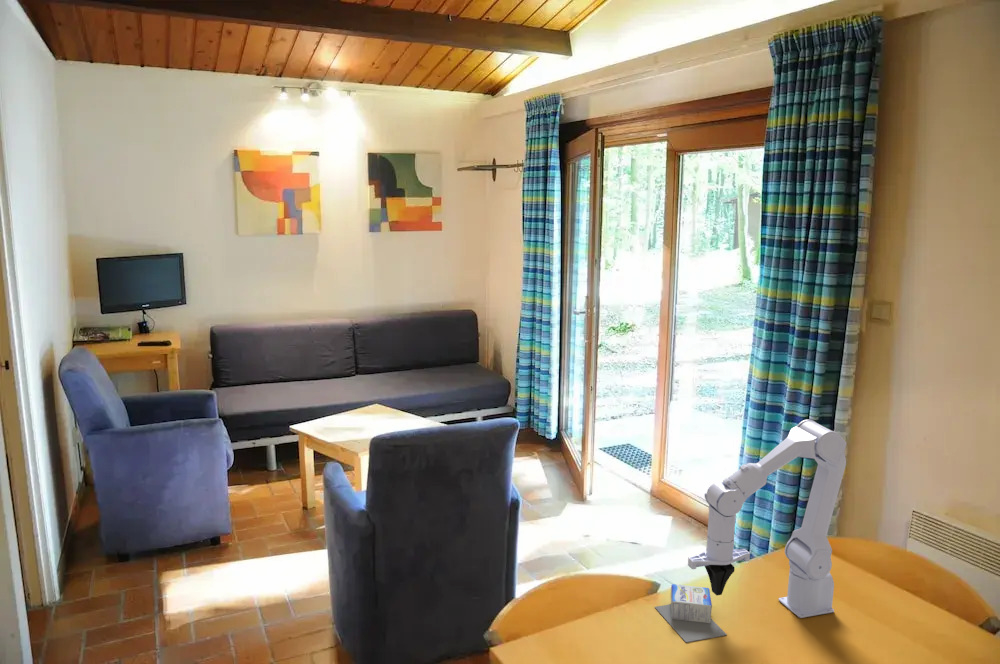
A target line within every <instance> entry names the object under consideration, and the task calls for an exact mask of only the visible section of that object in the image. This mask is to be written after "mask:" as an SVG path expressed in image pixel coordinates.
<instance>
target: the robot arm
mask: <svg viewBox="0 0 1000 664" xmlns="http://www.w3.org/2000/svg"><path fill="white" fill-rule="evenodd" d="M847 444H848V443H847V441H845V439H844V438H843V437H842V435H840V433H838V432H836V431H833V430H831V429H829V428H827V427H825V426H823V425H822V424H819V423H817V422H816V421H815V420H813V419H804V420H801V421H800V422H799V423H798V424H797V425H796V426H794V427H791V429H790V431H789V432H788V435H787V437H786V438H785V439H784V440H782V441H781V442H779V444H778V445H776V446H775V447H774V448H773V449H772V450H771V451H769V452H768V453H767V454H766V455H765V456H763V458H761V459H760V460H758V462H756V463H754V462H747V463H746V464H745V463H743V464H742V465H741V466H740V467H739V468H740V469H738V470H737V471H735V472H734V473H733V474H732V475H730V476H729V477H727V478H725V479H724V480H722V482H721V481H720V482H715V483H713V484H711V485H709V487H708V489H707V490H706V493H704V500H705V501H706V503H707V504H708V518H707V520H708V521H707V532H706V533H707V537H706V550H705V551H703V552H701V553H698V554H695V555H693V556H689V557H688V559H687V566H688V567H689V568H690V569H691V570H696V569H697V568H701V567H704V568H705V570H706V572H707V573H706V574H707V576H708V579H709V582H710V589H711V592H712V593H713V594H714V595H715V596H722V595H723V592H724V590H725V587H726V585H727V583H728V581H729V579H730V578H731V576H732V575H733V573H734V572H735V566H734V565H733V564H734V563H735V562H739V561H745V562H750V561H751V559H750V558H751V557H750V556H751V552H749V551H748V550H747V549H744V548H741V549H735V548H734V545H735V544H734V543H735V530H736V518H737V517H736V516H737V515H736V514H738V513H740V511H741V509H742V507H743V504H744V503H745V502H746V501H747V499H748V498H749V497H751V496H752V495H753V494H754V493H756V492H757V491H758V490H761V488H763V487H764V486H766V484H767V480H768V476H770V475H771V474H772V473H775V472H777V470H779V469H781V468H782V467H784V466H785V465H787V464H788V463H790V462H792V461H793V460H795V459H797V458H805V459H814V461H815V462H816V463H817V467H816V471H815V474H814V477H813V481H812V485H811V490H810V493H809V497H808V501H807V504H806V509H805V512H804V516H803V520H802V523H801V527H800V528H797V529H794V530H793V531H792V533H791V536H790V538H789V539H788V541H787V543H785V547H784V554H785V556H786V558H787V559H788V560H789V561H788V565H789V574H788V584H787V595H786V596H784V597H783V596H782V597H779V598H778V602H780V603H781V604H782V605H784V606H785V607H786V608H787V609H788V610H789V611H791V612H792V613H793V614H795V615H796V616H797V618H800V619H802V618H807V617H808V618H809V617H813V616H819V615H825V614H833V613H835V609H834V607H833V601H834V599H833V598H834V591H835V582H834V579H833V576H832V574H831V570H832V566H833V565H832V564H833V563H832V553H833V549H832V546H831V544H830V542H829V539H828V532H829V529H830V525H831V521H832V518H833V513H834V510H835V506H836V503H837V499H838V495H839V492H840V491H839V490H840V487H841V485H842V484H841V483H842V480H843V477H844V473H845V470H846V467H847V459H846V453H845V450H846V447H847Z"/></svg>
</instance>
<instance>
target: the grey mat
mask: <svg viewBox="0 0 1000 664" xmlns="http://www.w3.org/2000/svg"><path fill="white" fill-rule="evenodd" d="M654 608H655V610H656V611H657V612H658V613H659V615H661V617H663V619H664V620H665V621H666V622H667V623H668V624H669V626H670V627H672V629H673V630H674V632H676V634H677V635H679V636H680V638H681V639H682V640H683V641H684V642H685V644H686V643H693V642H698V641H704V640H710V639H714V638H715V639H716V638H719V637H725V636H728V634H727V633H726V632H725V631H724V630H723V629H722V628H721V627H720V626H719V625H718V624H717V623H716V622H715V620H713V618H711V621H710V623H703V622H695V621H686V620H678V619H672V613H671V603H670V604H669V603H668V604H665V605H664V604H663V605H658V606H654Z"/></svg>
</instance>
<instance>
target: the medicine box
mask: <svg viewBox="0 0 1000 664" xmlns="http://www.w3.org/2000/svg"><path fill="white" fill-rule="evenodd" d="M710 590H711V589H710V588H709V587H701V586H694V585H685V584H678V583H677V584H675V583H672V584H671V587H670V604H671V613H672V619H678V620H686V621H695V622H703V623H710V621H711V619H712V611H713V609H712V608H713V603H712V598H711V591H710Z"/></svg>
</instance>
